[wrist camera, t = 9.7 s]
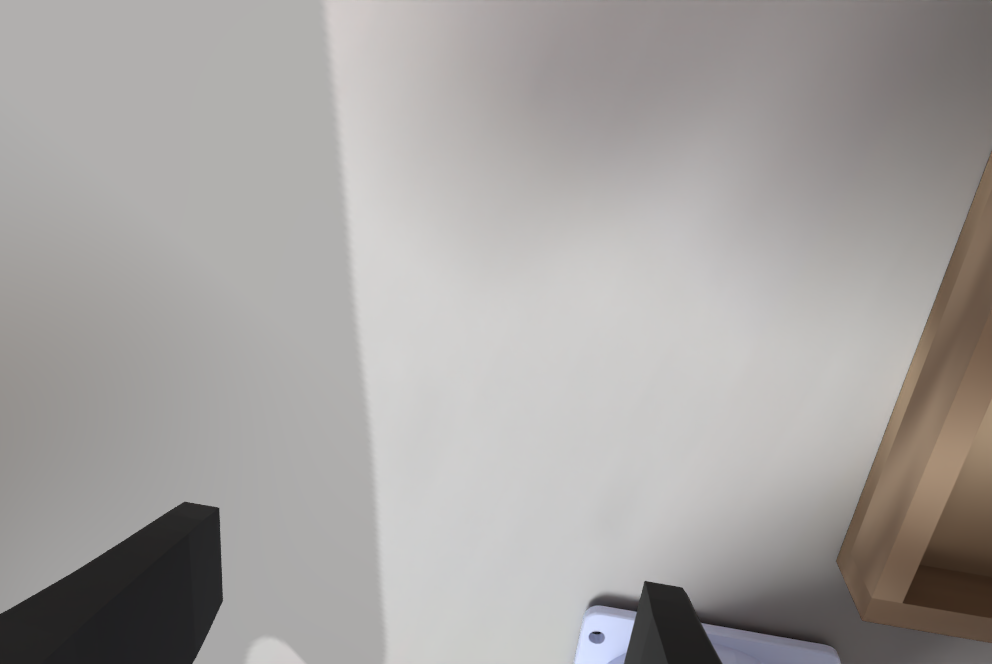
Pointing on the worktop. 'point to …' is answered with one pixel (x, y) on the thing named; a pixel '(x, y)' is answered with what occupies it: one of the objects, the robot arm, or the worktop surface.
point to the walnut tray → (936, 465)
